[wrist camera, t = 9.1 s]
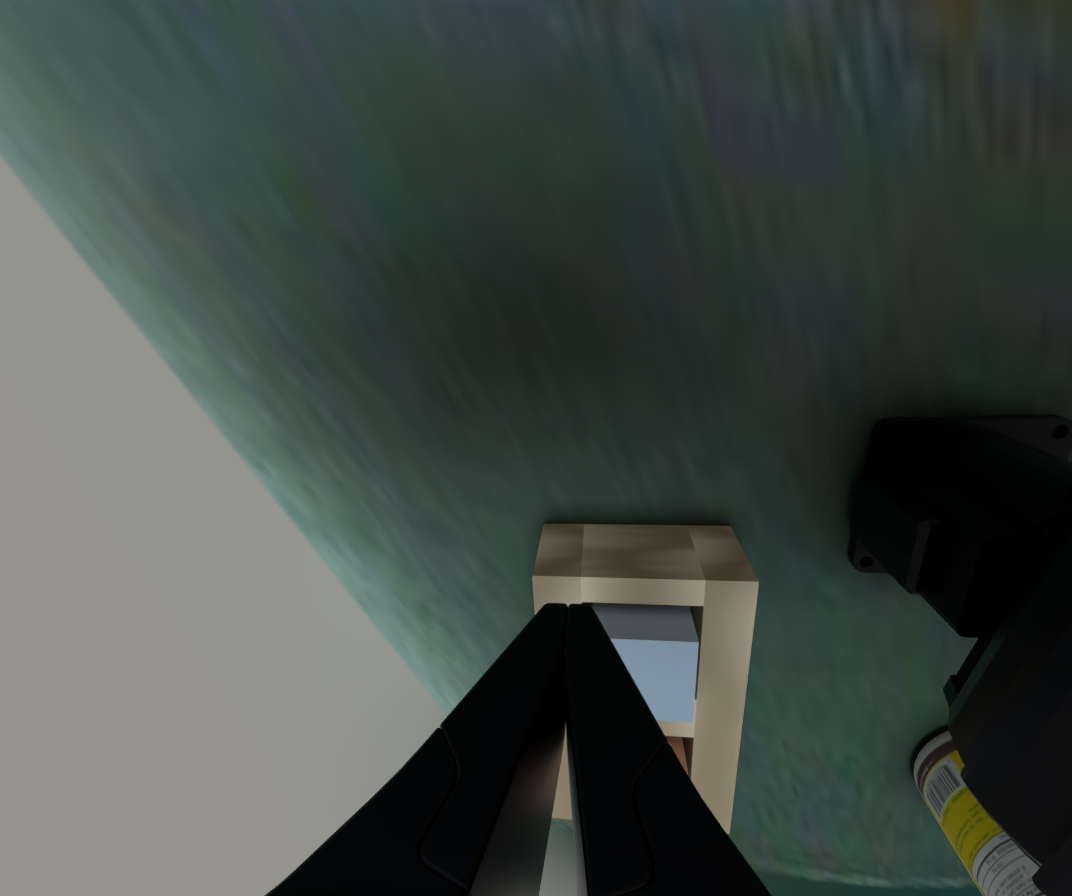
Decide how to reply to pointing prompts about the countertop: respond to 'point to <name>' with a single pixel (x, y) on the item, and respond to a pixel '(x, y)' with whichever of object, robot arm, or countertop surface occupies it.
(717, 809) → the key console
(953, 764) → the supplement bottle
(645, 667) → the light blue square block
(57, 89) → the countertop surface
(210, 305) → the countertop surface
